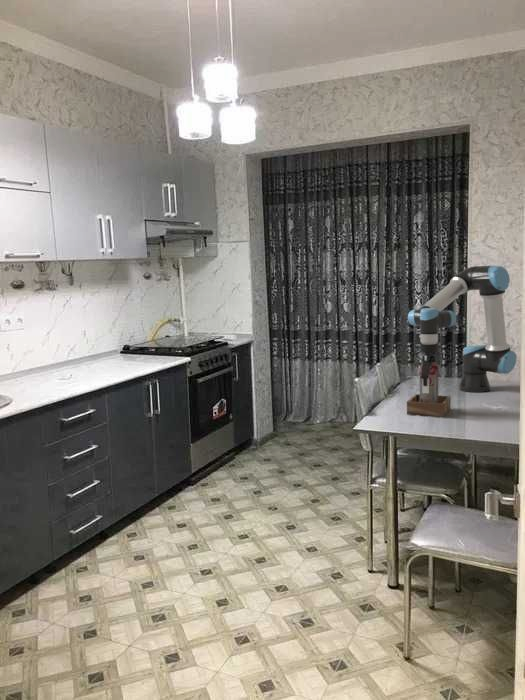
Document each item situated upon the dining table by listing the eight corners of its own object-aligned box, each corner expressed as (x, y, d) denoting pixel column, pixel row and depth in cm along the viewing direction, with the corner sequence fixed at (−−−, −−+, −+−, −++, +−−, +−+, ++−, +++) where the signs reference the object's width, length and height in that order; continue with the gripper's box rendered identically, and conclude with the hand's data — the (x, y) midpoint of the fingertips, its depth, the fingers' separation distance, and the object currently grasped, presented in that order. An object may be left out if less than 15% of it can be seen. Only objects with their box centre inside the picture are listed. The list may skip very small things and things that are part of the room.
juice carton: (434, 412, 262) (434, 363, 259) (419, 410, 265) (419, 362, 262) (438, 408, 268) (438, 360, 264) (423, 407, 271) (423, 360, 268)
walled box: (415, 406, 277) (415, 394, 276) (450, 409, 270) (450, 396, 269) (406, 414, 263) (406, 401, 262) (443, 417, 256) (443, 404, 255)
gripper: (426, 339, 275) (426, 383, 278) (413, 346, 253) (413, 395, 256) (443, 339, 271) (442, 384, 274) (431, 347, 249) (431, 396, 252)
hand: (428, 389), depth 265 cm, fingers open, 13 cm apart
